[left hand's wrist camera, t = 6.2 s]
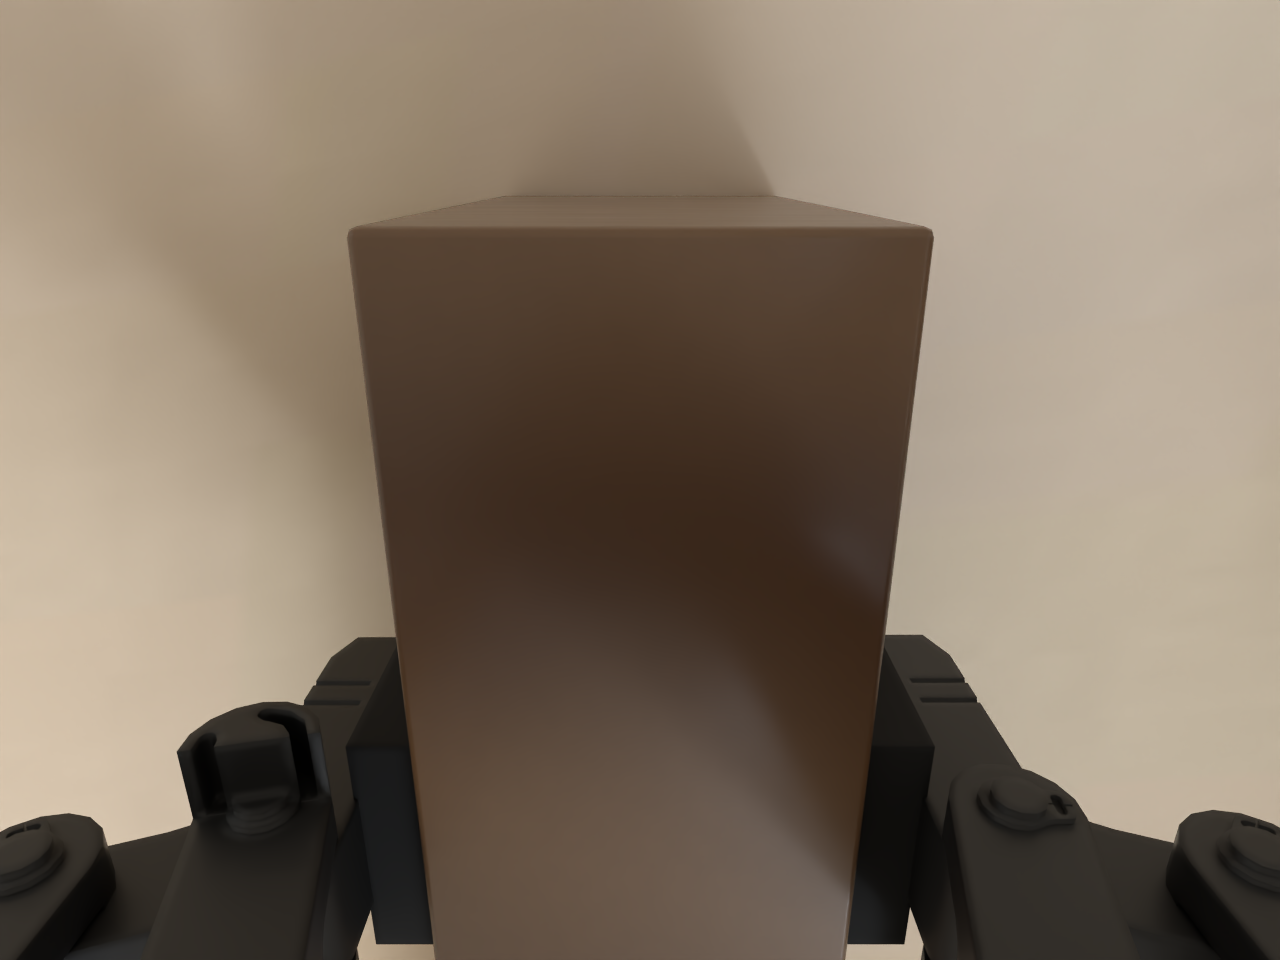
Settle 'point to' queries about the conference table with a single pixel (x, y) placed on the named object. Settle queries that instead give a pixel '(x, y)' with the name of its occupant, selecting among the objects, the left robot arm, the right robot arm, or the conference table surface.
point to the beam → (640, 559)
